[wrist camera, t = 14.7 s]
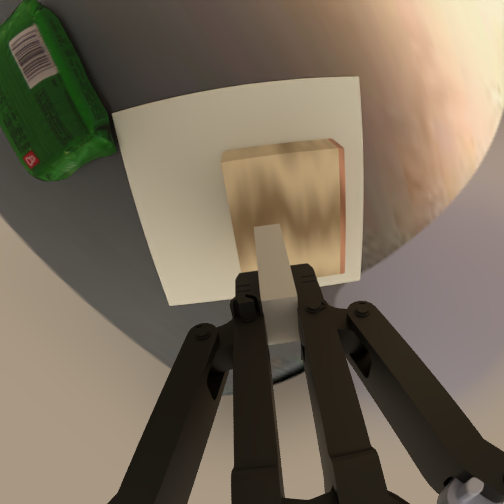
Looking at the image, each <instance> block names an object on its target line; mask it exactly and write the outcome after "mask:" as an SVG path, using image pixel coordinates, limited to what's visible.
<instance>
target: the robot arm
mask: <svg viewBox="0 0 504 504" xmlns="http://www.w3.org/2000/svg"><path fill="white" fill-rule="evenodd" d="M254 235H255V245H256V256H257V266H258V271H251V272H243V273H239V274H238V276H237V277H236V279H235V297H234V298H233V299H232V300H231V302H230V308H231V312H232V317H233V319H232V320H231V321H229V322H228V323H227V324H224V325H222V326H219V327H217V328H216V327H215V326H214V325H212V324H209V323H201V324H198V325H196V326H194V327H193V328H191V329H190V331H189V332H188V334H187V336H186V338H185V341H184V343H183V345H182V347H181V349H180V352H179V354H178V356H177V358H176V360H175V363H174V365H173V367H172V369H171V372H170V374H169V376H168V378H167V381H166V383H165V385H164V387H163V389H162V392H161V394H160V396H159V398H158V401H157V403H156V405H155V407H154V410H153V412H152V414H151V416H150V419H149V421H148V423H147V425H146V428H145V430H144V432H143V435H142V437H141V439H140V442H139V444H138V446H137V449H136V451H135V453H134V455H133V458H132V460H131V463H130V465H129V467H128V470H127V472H126V474H125V477H124V479H123V481H122V484H121V487H120V489H119V491H118V493H117V494H116V495H115V496H114V497H113V498H112V499H111V501H110V502H109V503H108V504H187V502H188V499H189V496H190V493H191V490H192V487H193V484H194V481H195V478H196V474H197V472H198V469H199V465H200V462H201V459H202V456H203V453H204V450H205V447H206V444H207V440H208V437H209V434H210V431H211V428H212V425H213V421H214V418H215V415H216V412H217V409H218V406H219V402H220V399H221V396H222V393H223V390H224V386H225V383H226V380H227V377H228V374H229V370H230V369H233V407H234V408H233V417H234V468H233V470H232V474H231V497H232V499H231V500H232V504H409V503H408V502H406V501H405V500H404V499H402V498H400V497H399V496H398V495H396V494H394V493H392V492H390V491H388V490H387V487H386V484H385V479H384V475H383V471H382V468H381V464H380V460H379V456H378V454H377V452H376V450H375V449H374V448H373V447H372V446H371V444H370V441H369V437H368V433H367V429H366V426H365V422H364V419H363V415H362V411H361V408H360V404H359V401H358V397H357V394H356V390H355V387H354V384H353V380H352V377H351V374H350V370H349V367H348V364H347V360H348V361H349V363H350V364H351V366H352V367H353V369H354V370H355V372H356V373H357V375H358V376H359V378H360V379H361V381H362V382H363V384H364V385H365V387H366V388H367V390H368V392H369V393H370V394H371V396H372V398H373V399H374V401H375V402H376V404H377V405H378V407H379V408H380V410H381V411H382V413H383V415H384V416H385V417H386V419H387V421H388V422H389V424H390V425H391V427H392V428H393V430H394V432H395V433H396V435H397V436H398V438H399V439H400V441H401V442H402V444H403V446H404V447H405V449H406V450H407V452H408V453H409V455H410V457H411V458H412V460H413V461H414V463H415V464H416V466H417V468H418V469H419V471H420V472H421V474H422V475H423V477H424V478H425V479H426V481H427V482H428V484H429V485H430V486H431V487H432V488H433V489H434V490H435V491H436V492H437V493H438V494H439V496H438V500H437V504H503V503H504V452H503V451H502V450H500V449H499V448H497V447H495V446H494V445H492V444H491V443H489V442H487V441H486V440H484V439H483V438H482V436H481V435H480V434H479V432H478V431H477V430H476V428H475V427H474V426H473V425H472V423H471V422H470V420H469V419H468V418H467V417H466V415H465V414H464V413H463V411H462V410H461V409H460V407H459V406H458V405H457V404H456V402H455V401H454V400H453V399H452V397H451V396H450V395H449V394H448V392H447V391H446V390H445V389H444V388H443V386H442V385H441V384H440V382H439V381H438V380H437V379H436V377H435V376H434V375H433V374H432V373H431V371H430V370H429V369H428V368H427V366H426V365H425V364H424V363H423V362H422V360H421V359H420V358H419V357H418V356H417V354H416V353H415V352H414V351H413V350H412V348H411V347H410V346H409V345H408V344H407V342H406V341H405V340H404V339H403V338H402V337H401V336H400V334H399V333H398V332H397V331H396V330H395V328H394V327H393V326H392V325H391V324H390V323H389V322H388V320H387V319H386V318H385V317H384V316H383V315H382V314H381V312H380V311H379V310H378V309H377V308H376V307H375V306H374V305H373V304H372V303H369V302H367V301H357V302H354V303H352V304H350V305H349V307H348V309H340V308H335V307H332V306H330V305H328V303H327V302H326V301H325V300H324V298H323V295H322V292H321V289H320V286H319V283H318V281H317V277H316V274H315V271H314V269H313V267H311V266H310V265H309V264H308V263H304V264H297V265H290V263H289V259H288V255H287V251H286V247H285V243H284V239H283V235H282V231H281V227H280V224H272V225H265V226H257V227H254ZM295 341H301V360H303V362H304V368H305V373H306V378H307V384H308V389H309V394H310V400H311V405H312V411H313V417H314V422H315V428H316V433H317V439H318V445H319V451H320V457H321V463H322V469H323V475H324V487H325V494H323V495H321V496H318V497H316V498H313V499H310V500H300V499H290V498H285V495H284V487H283V478H282V468H281V458H280V449H279V439H278V429H277V420H276V411H275V401H274V392H273V382H272V373H271V363H270V354H269V348H268V345H273V344H281V343H288V342H295ZM346 358H347V360H346Z"/></svg>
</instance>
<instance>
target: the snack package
mask: <svg viewBox="0 0 504 504" xmlns="http://www.w3.org/2000/svg"><path fill="white" fill-rule="evenodd" d="M0 125H1V128H2V130H3V132H4V133H5V135H6V137H7V139H8V141H9V142H10V144H11V146H12V148H13V150H14V151H15V153H16V155H17V156H18V158H19V160H20V162H21V163H22V165H23V166H24V167H25V168H26V170H27V171H28V172H29V173H30V174H31V175H32V176H34V177H35V178H37V179H39V180H42V181H59V180H63V179H66V178H68V177H70V176H71V175H72V174H73V173H74V172H75V171H76V170H78V169H79V168H80V167H82V166H83V165H85V164H86V163H88V162H90V161H91V160H93V159H96V158H99V157H105V156H110V155H112V154H114V153H116V152H117V150H116V147H115V143H114V141H113V139H112V136H111V131H110V123H109V117H108V114H107V111H106V110H105V108H104V106H103V104H102V103H101V101H100V99H99V97H98V96H97V94H96V92H95V90H94V88H93V87H92V85H91V83H90V81H89V79H88V77H87V75H86V73H85V70H84V68H83V65H82V63H81V61H80V58H79V56H78V54H77V53H76V51H75V49H74V47H73V45H72V43H71V41H70V40H69V38H68V36H67V34H66V32H65V31H64V29H63V27H62V25H61V23H60V21H59V19H58V18H57V17H56V16H55V14H54V13H53V12H52V11H50V10H49V9H47V8H46V7H45V6H43V5H42V4H41V3H39V2H38V1H36V0H24V1H23V2H21V3H20V4H19V5H18V7H17V8H16V9H15V10H14V12H13V13H12V14H11V15H10V16H9V18H8V19H7V20H6V21H5V22H4V23H3V24H2V25H0Z"/></svg>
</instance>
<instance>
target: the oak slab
mask: <svg viewBox="0 0 504 504" xmlns="http://www.w3.org/2000/svg"><path fill="white" fill-rule="evenodd" d="M221 166H222V171H223V177H224V183H225V188H226V194H227V199H228V205H229V210H230V216H231V221H232V226H233V232H234V237H235V243H236V248H237V253H238V259H239V264H240V269H241V273H243V272H251V271H258V266H257V256H256V245H255V235H254V227H257V226H265V225H272V224H280V227H281V231H282V235H283V239H284V243H285V247H286V251H287V255H288V259H289V263H290V265H297V264H304V263H308V264H309V265H310V266H311V267H313V269H314V271H315V274H316V277H324V276H331V275H337V274H344V273H345V246H346V192H345V157H344V147H342V146H341V145H340V144H339V143H337V142H336V141H335V140H333V139H332V138H330V139H318V140H308V141H298V142H288V143H280V144H271V145H263V146H256V147H249V148H242V149H235V150H228V151H223V154H222V159H221Z"/></svg>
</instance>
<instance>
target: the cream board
mask: <svg viewBox="0 0 504 504" xmlns="http://www.w3.org/2000/svg"><path fill="white" fill-rule="evenodd" d="M112 117H113V121H114V125H115V130H116V134H117V138H118V142H119V146H120V150H121V154H122V158H123V162H124V165H125V169H126V173H127V176H128V180H129V183H130V187H131V191H132V194H133V197H134V201H135V204H136V208H137V211H138V214H139V217H140V221H141V224H142V227H143V230H144V233H145V236H146V239H147V243H148V246H149V249H150V252H151V255H152V258H153V260H154V263H155V266H156V269H157V272H158V275H159V278H160V280H161V283H162V286H163V289H164V292H165V294H166V297H167V300H168V302H169V305H170V306H173V305H183V304H192V303H200V302H209V301H217V300H226V299H233V298H234V297H235V279H236V277H237V276H238V274H239V273H241V269H240V264H239V259H238V253H237V248H236V243H235V237H234V232H233V226H232V221H231V216H230V210H229V205H228V199H227V194H226V188H225V183H224V177H223V171H222V166H221V159H222V154H223V151H228V150H235V149H242V148H249V147H256V146H263V145H271V144H280V143H288V142H298V141H308V140H318V139H330V138H332V139H333V140H335V141H336V142H337V143H339V144H340V145H341V146H342V147H344V157H345V192H346V246H345V273H344V274H337V275H331V276H324V277H317V281H318V283H319V286H327V285H333V284H339V283H346V282H351V281H358V280H360V272H361V255H362V233H363V136H362V114H361V98H360V85H359V77H357V76H352V77H321V78H304V79H291V80H280V81H270V82H261V83H253V84H246V85H239V86H232V87H225V88H219V89H213V90H208V91H202V92H197V93H192V94H187V95H182V96H177V97H173V98H168V99H164V100H160V101H156V102H152V103H148V104H144V105H140V106H136V107H132V108H129V109H125V110H122V111H118V112H115V113H112Z"/></svg>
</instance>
